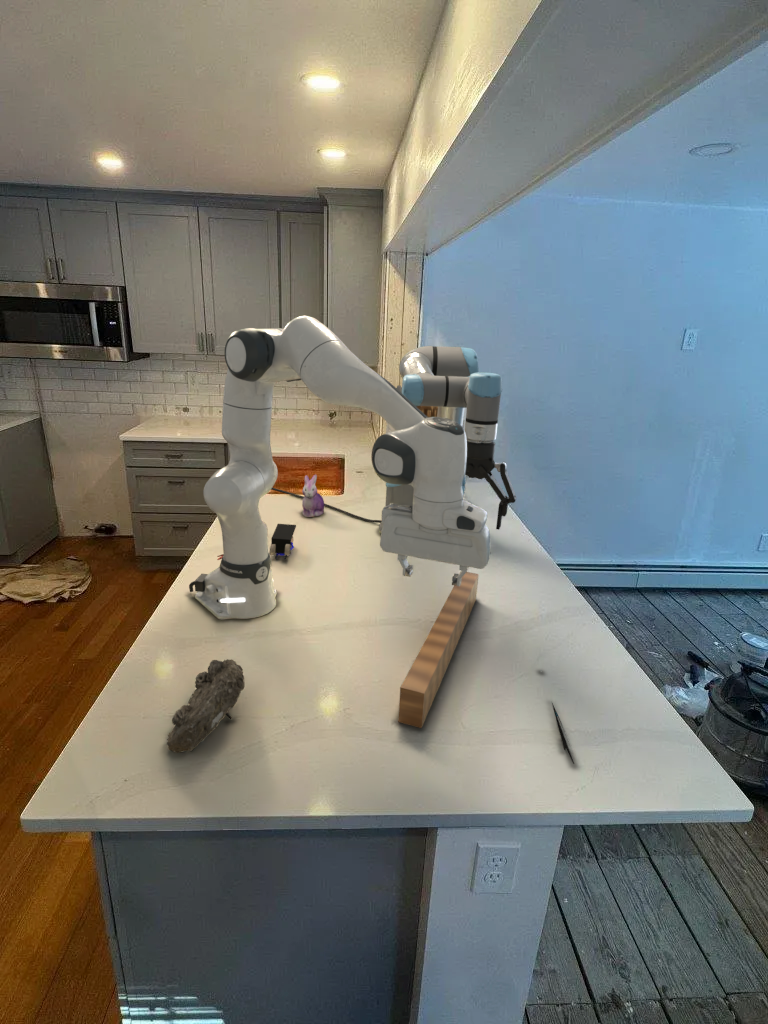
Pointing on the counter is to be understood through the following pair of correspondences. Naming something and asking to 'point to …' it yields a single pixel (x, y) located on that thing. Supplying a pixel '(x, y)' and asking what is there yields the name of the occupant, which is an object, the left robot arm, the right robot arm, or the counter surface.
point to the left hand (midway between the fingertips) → (431, 579)
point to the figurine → (312, 498)
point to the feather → (562, 734)
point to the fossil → (206, 705)
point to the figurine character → (282, 540)
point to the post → (436, 653)
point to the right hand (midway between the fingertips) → (471, 523)
